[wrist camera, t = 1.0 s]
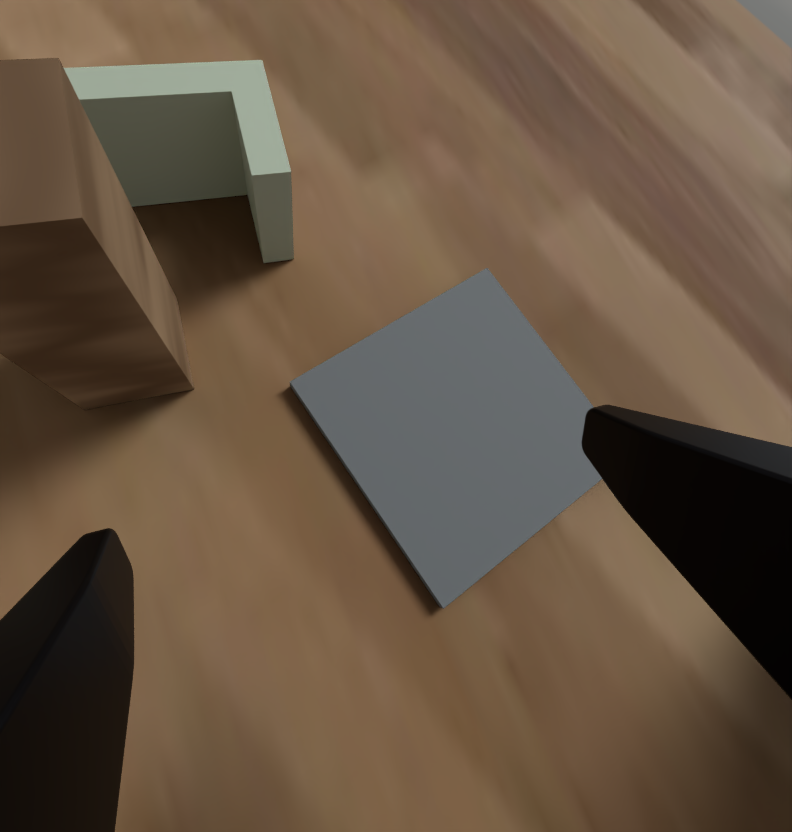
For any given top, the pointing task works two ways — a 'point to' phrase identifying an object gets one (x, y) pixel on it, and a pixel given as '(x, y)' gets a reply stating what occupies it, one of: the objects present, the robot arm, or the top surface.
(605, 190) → the top surface
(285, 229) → the nook
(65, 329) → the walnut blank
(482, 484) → the slate mat
